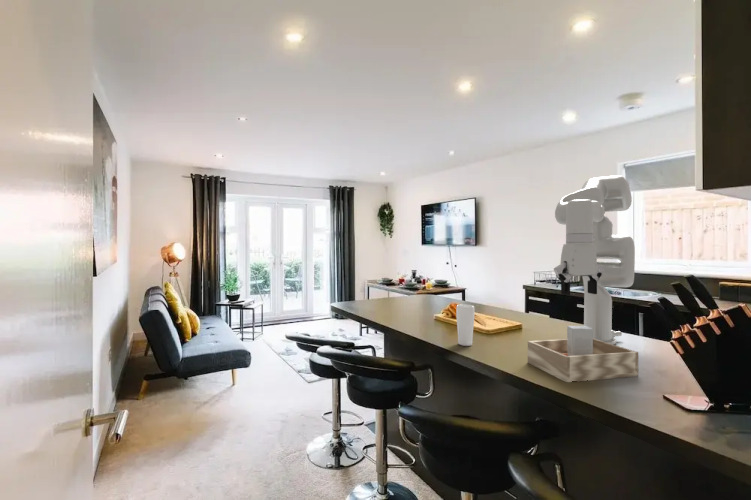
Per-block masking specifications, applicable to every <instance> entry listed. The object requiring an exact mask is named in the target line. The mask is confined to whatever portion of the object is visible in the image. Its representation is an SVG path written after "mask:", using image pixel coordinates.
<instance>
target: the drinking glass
mask: <svg viewBox="0 0 751 500" xmlns="http://www.w3.org/2000/svg"><path fill="white" fill-rule="evenodd" d="M455 313H456V314H455V316H456V317H455V318H456V328H457V343H458V344H459V345H460V346H462V347H469V346H470V347H471V346H472V345H473V338H474V337H473V335H474V326H475V325H474V324H475V306H474V305H472V304H465V303H464V304H462V303H461V304H457V305H456V312H455Z"/></svg>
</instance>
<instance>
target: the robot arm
mask: <svg viewBox="0 0 751 500" xmlns="http://www.w3.org/2000/svg"><path fill="white" fill-rule="evenodd" d="M632 199H633V198H632V193H631V187H630V185H629V182H628V179H626V177H625V176H623V175H609V176H598V177H593V178H588V180H586V181H585V182H584V183H583V185H582V187H581V189H580V190H576V191H575V192H572V193H569V194H567V195H565V196H563V197H561V199H560V200H559V202H557V204H556V207H555V209H554V210H555V211H554V218H555V221H556V222H557V223H558V224H559V225H562V226H563V225H565V233H566V234H565V243H564V244H563V246H562V249H561V255H560V263H559V264H558V265H557V266H555V267H554V268H553V271H554V273H555V276H556V278H557V279H558V281H559V282H560V294H561V295H562V296H564V295H565V296H570V295H571V283H570V280H571V279H572V277H582V283H583V292H584V293H583V299H584V300H583V301H584V302H583V304H584V305H583V308H584V309H583V311H584V312H583V326H587V327H590V328H592V329H593V338H594V339H597V340H600V341H603V342H607V343H610V344H613V345H616V344H617V340H616V339H615V337H621V336H622V332H621V331H620V330H618V331H614V330H613V329H612V327H613V326H612V325H613V323H612V319H613V316H612V315H613V309H612V308H613V299H612V295H611V294H610V292H609V291H608V290H607V289H606V288H605V287H611V288H630V287H632V286H633V284H634V282H635V269H636V268H635V261H636V260H635V257H636V254H635V251H636V250H635V248H636V247H635V241H634V239H633V238H632V237H631V236H630V235H625V234H624V235H623V234H622V235H621V234H616V235H615V234H613V227H614V226H613V222H612V221H611V219H610V218H609V217H608V216H607V215H606V213H607V212H624V211H627V210H629V209H630V208H631V205H632ZM598 259H599V260H618V261H620V262H616V261H614V262H611V261H610V262H609V261H598Z"/></svg>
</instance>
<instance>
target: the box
mask: <svg viewBox="0 0 751 500" xmlns="http://www.w3.org/2000/svg"><path fill="white" fill-rule="evenodd" d="M527 364H530V365H531V366H533V367H536V368H538V369H539V370H541V371H544V372H545V373H547V374H549V375H551V376H553V377H555V378H557V379H559V380H561V381H563V382H565V383H573V382H572V381H577V382H586V381H587V380H588V381H598V380H599V381H601V380H609V379H623V378H633V377H639V351H635V350H632V349H628V348H625V347H623V346H619V345H616V344H610V343H607V342H603V341H600V340H597V339H594V338H593V354H591V355H576V356H567V338H564V339H563V338H560V339H559V338H558V339H544V340H543V339H542V340H528V341H527Z"/></svg>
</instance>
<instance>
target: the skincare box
mask: <svg viewBox="0 0 751 500" xmlns="http://www.w3.org/2000/svg"><path fill="white" fill-rule="evenodd" d="M566 327H567V329H566V331H567V333H566V336H567V337H566V339H567V356H576V355H591V354H593V329H592V328H590V327H587V326H584V325H567V326H566Z"/></svg>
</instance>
